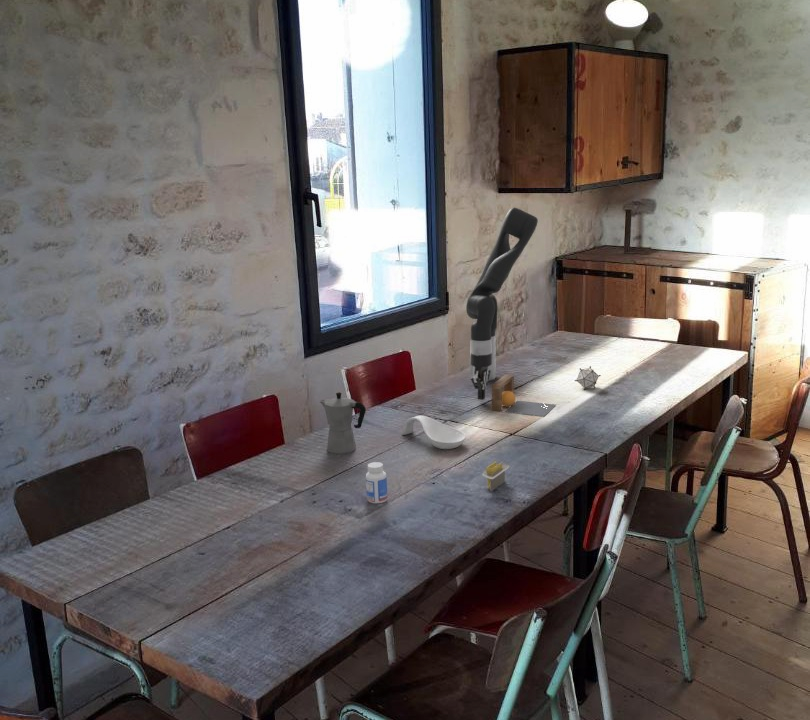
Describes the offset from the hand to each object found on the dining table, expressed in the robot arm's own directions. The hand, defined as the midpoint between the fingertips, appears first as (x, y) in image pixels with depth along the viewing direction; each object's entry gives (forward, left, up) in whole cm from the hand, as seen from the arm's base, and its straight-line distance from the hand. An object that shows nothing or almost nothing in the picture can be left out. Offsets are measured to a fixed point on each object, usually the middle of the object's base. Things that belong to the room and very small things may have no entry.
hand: (481, 399), depth 302 cm
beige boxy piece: (+30, -69, -2) cm, 75 cm away
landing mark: (+18, 0, -2) cm, 18 cm away
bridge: (+8, 0, -2) cm, 8 cm away
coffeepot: (-22, -59, -2) cm, 63 cm away
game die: (+30, +31, -2) cm, 43 cm away
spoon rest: (0, -43, -2) cm, 43 cm away
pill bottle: (+5, -89, -2) cm, 89 cm away
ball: (+10, 0, +1) cm, 10 cm away
